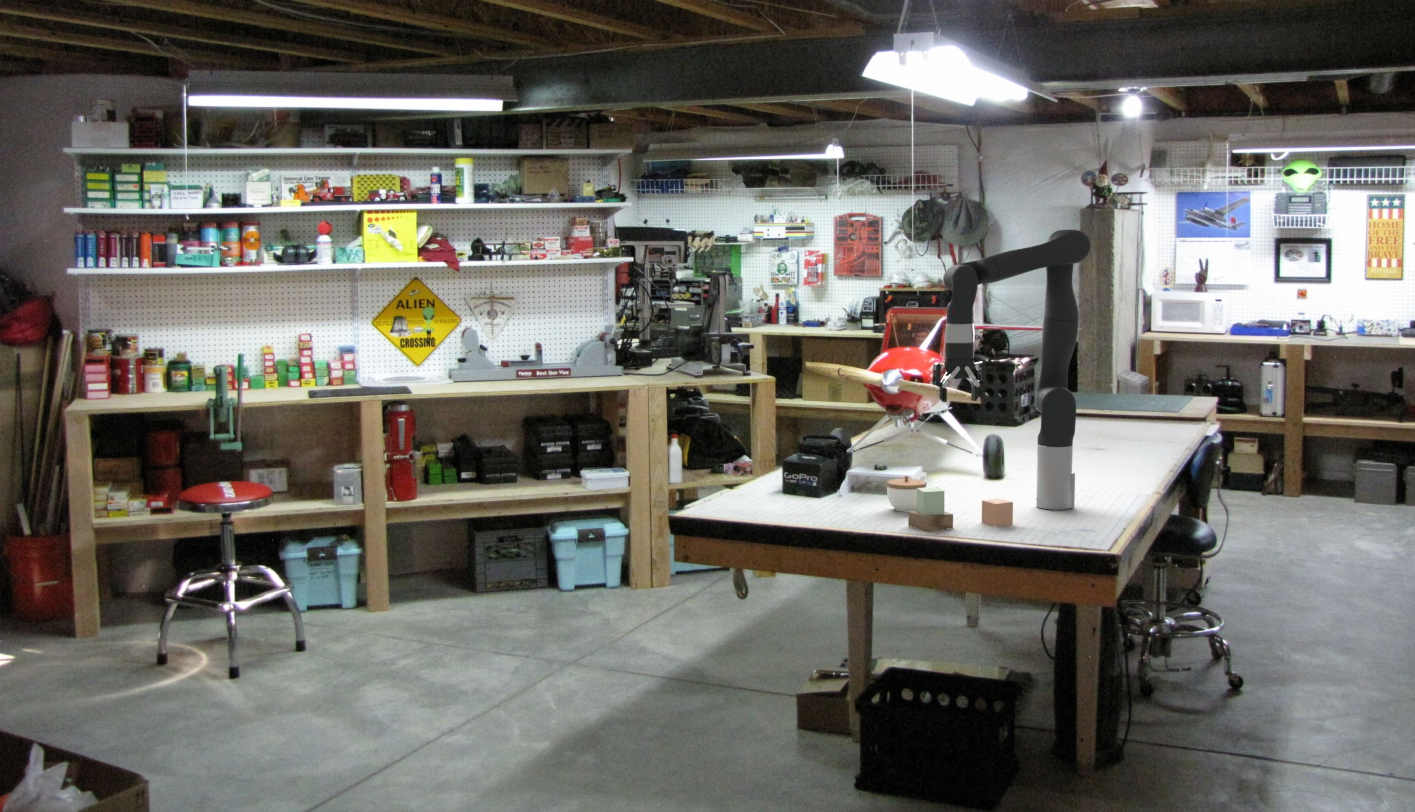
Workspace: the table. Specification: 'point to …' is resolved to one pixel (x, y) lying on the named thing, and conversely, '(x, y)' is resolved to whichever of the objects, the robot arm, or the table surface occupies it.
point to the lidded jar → (904, 493)
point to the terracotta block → (997, 512)
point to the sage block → (930, 501)
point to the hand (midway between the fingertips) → (959, 401)
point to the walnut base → (930, 521)
